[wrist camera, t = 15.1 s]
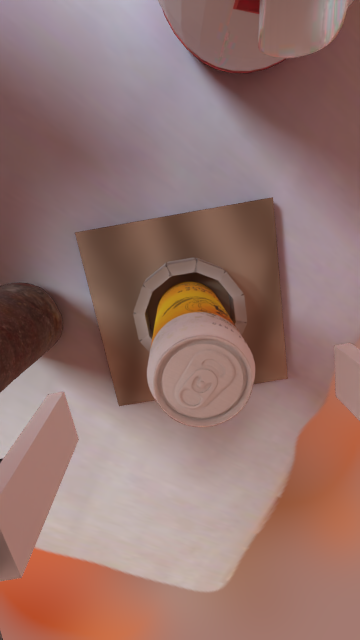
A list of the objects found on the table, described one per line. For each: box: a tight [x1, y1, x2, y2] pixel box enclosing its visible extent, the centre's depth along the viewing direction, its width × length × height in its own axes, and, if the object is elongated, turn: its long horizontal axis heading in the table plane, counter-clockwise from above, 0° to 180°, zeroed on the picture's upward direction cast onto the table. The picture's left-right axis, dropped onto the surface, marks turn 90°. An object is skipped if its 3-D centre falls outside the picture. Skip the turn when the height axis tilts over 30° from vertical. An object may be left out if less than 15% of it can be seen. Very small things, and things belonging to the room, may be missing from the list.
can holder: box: [75, 197, 288, 406], centre depth 31 cm, size 18×18×4 cm
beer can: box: [147, 282, 255, 427], centre depth 24 cm, size 6×6×15 cm
